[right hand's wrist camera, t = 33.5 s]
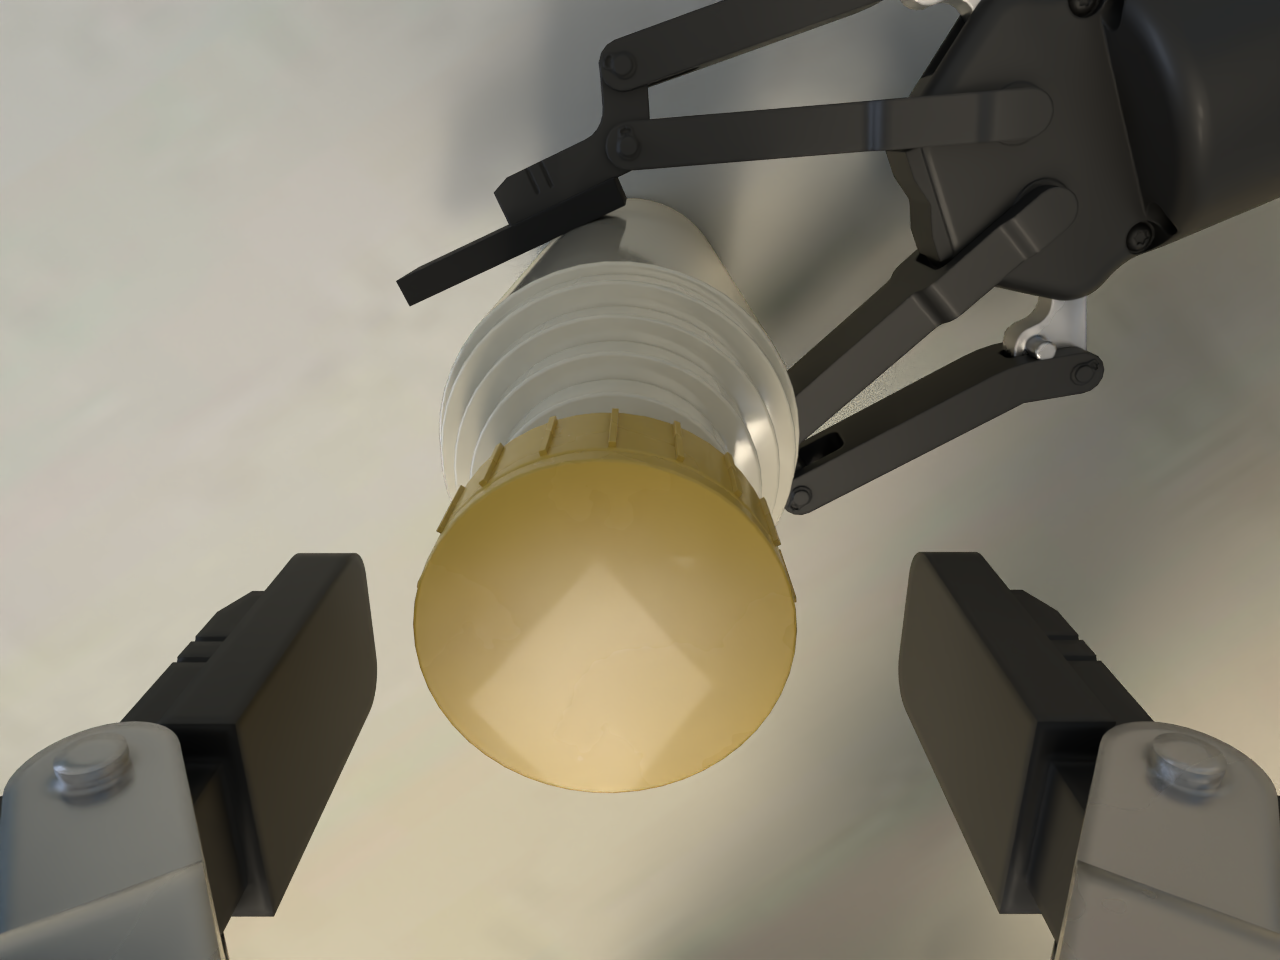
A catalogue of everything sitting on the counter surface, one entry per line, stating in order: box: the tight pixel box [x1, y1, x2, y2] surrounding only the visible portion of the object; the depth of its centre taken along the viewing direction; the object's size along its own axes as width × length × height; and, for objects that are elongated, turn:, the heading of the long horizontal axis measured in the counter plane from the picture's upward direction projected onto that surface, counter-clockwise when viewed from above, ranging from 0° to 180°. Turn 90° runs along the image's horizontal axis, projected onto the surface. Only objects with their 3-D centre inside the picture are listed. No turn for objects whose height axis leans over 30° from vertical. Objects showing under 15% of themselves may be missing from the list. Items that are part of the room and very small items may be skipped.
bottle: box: [439, 198, 800, 527], centre depth 21 cm, size 7×7×23 cm
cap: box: [413, 408, 797, 793], centre depth 11 cm, size 4×4×2 cm
